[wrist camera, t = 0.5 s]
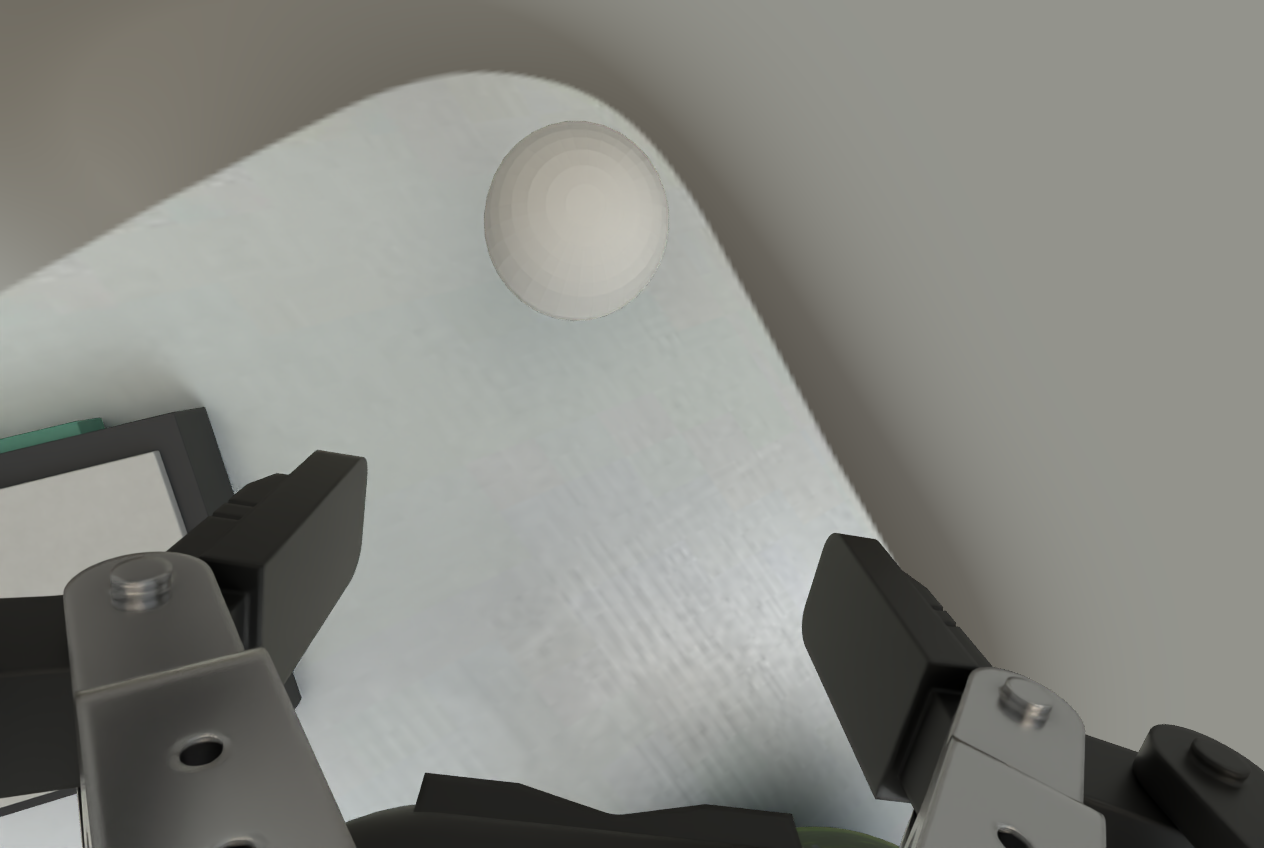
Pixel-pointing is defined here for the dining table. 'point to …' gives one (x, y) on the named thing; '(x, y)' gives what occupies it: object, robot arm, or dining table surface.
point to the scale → (102, 505)
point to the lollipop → (576, 220)
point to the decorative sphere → (838, 838)
